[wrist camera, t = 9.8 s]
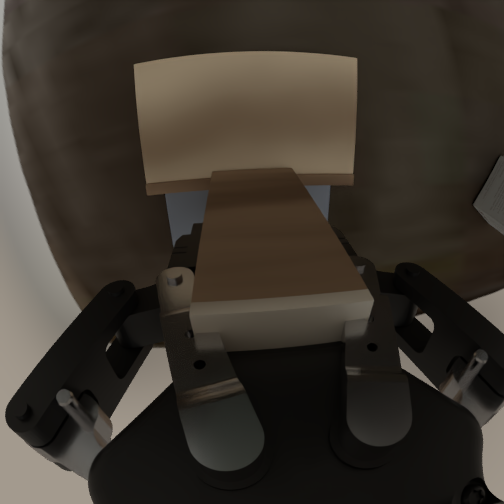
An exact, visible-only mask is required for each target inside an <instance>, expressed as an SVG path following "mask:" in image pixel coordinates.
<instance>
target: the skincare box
mask: <svg viewBox="0 0 504 504" xmlns="http://www.w3.org/2000/svg"><path fill="white" fill-rule="evenodd" d="M473 206H474V207H475V208H476V209H477V210H478V212H479V213H480V214H481V215H482V216H483V218H484V219H485V220H486V221H487V222H488V223H489V224H490V225H491V226H493V227H494V228H495V229H497V230H498V231H499V232H501V233H502V234H503V235H504V157H503V156H500V157H499V159H498V161H497V163H496V165H495V167H494V169H493V171H492V173H491V174H490V176H489V178H488V180H487V182H486V183H485V185H484V187H483V189H482V190H481V192H480V194H479V195H478V197H477V199H476V200H475V202H474V204H473Z"/></svg>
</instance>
